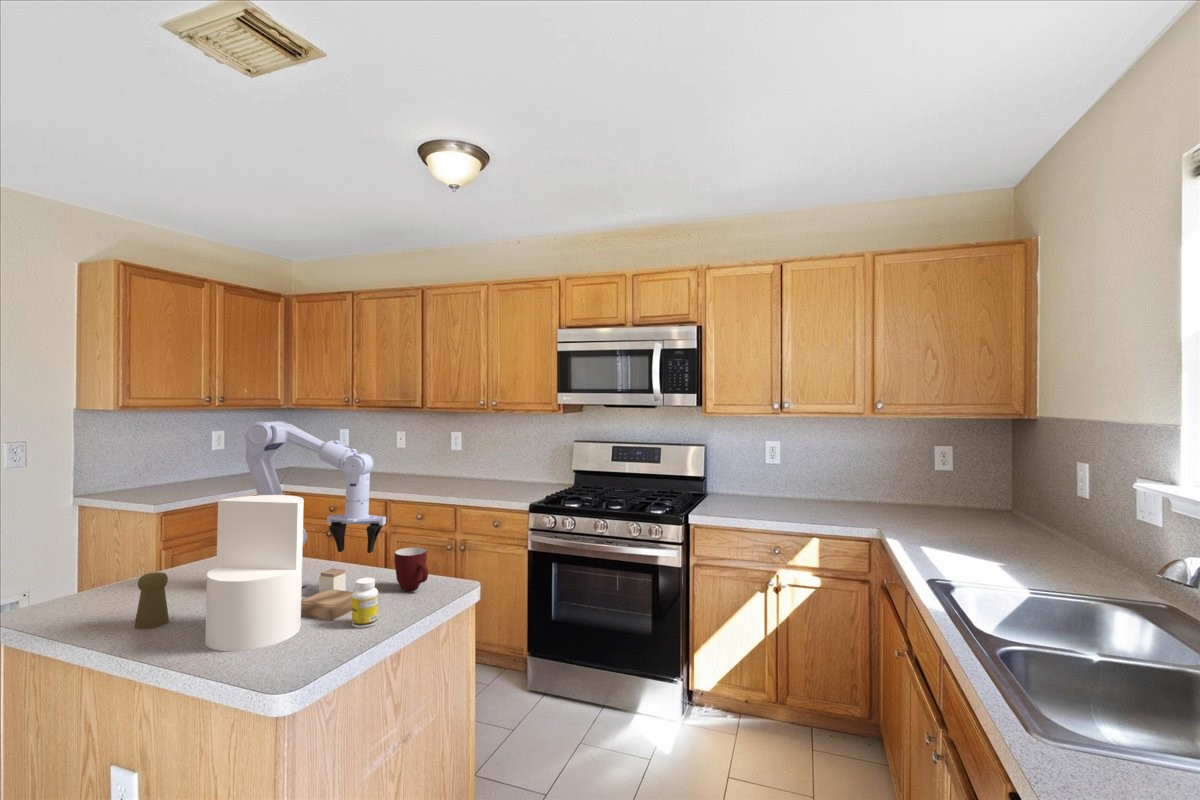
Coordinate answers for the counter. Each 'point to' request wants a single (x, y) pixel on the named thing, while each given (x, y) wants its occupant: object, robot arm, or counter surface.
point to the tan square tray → (327, 604)
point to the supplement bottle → (365, 603)
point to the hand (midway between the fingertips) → (355, 551)
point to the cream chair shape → (255, 573)
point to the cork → (152, 601)
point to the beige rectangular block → (332, 580)
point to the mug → (411, 567)
